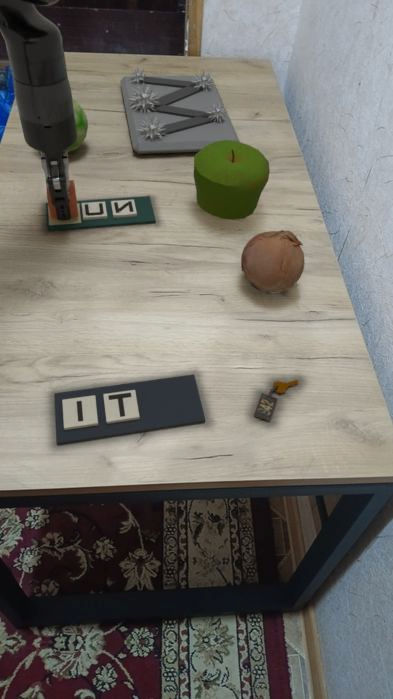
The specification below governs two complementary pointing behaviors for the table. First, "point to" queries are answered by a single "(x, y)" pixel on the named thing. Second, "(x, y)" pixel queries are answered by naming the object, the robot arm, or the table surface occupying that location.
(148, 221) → the far word mat
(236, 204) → the apple
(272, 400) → the key tag
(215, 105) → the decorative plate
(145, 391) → the near word mat
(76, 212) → the red striped block
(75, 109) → the decorative ball
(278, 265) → the onion
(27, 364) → the table surface
